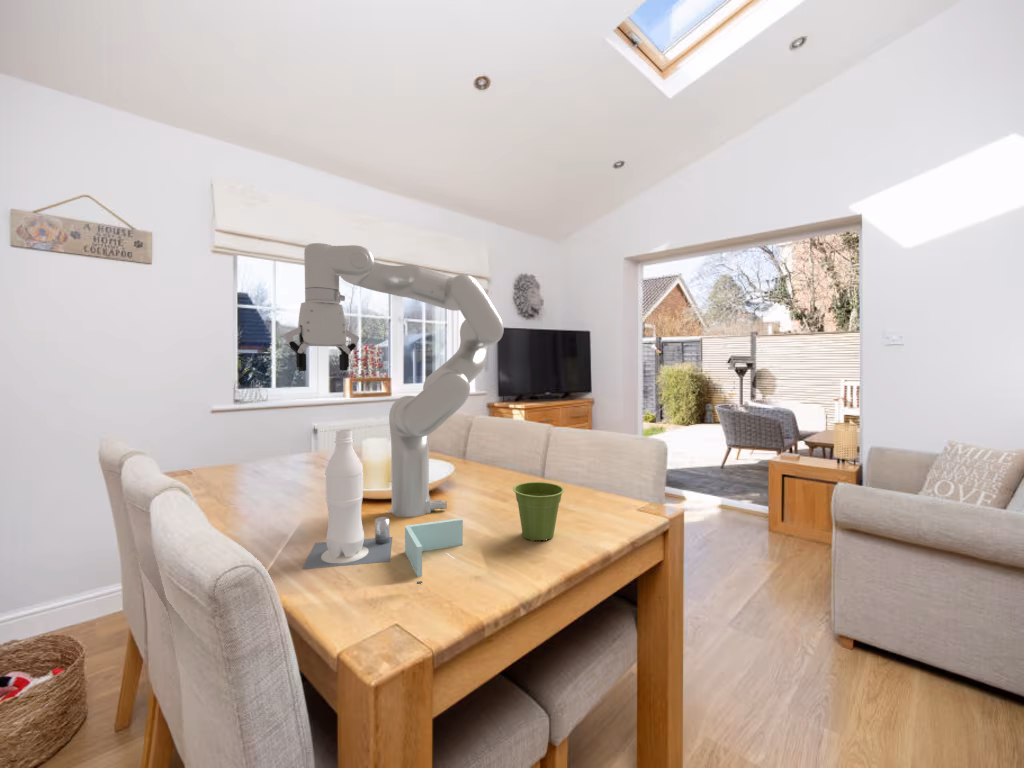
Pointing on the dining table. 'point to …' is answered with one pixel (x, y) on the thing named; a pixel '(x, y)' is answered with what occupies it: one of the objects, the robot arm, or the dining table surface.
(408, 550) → the right angle wall
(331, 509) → the water bottle
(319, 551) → the board
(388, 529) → the metal post
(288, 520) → the dining table surface
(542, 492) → the plant pot
